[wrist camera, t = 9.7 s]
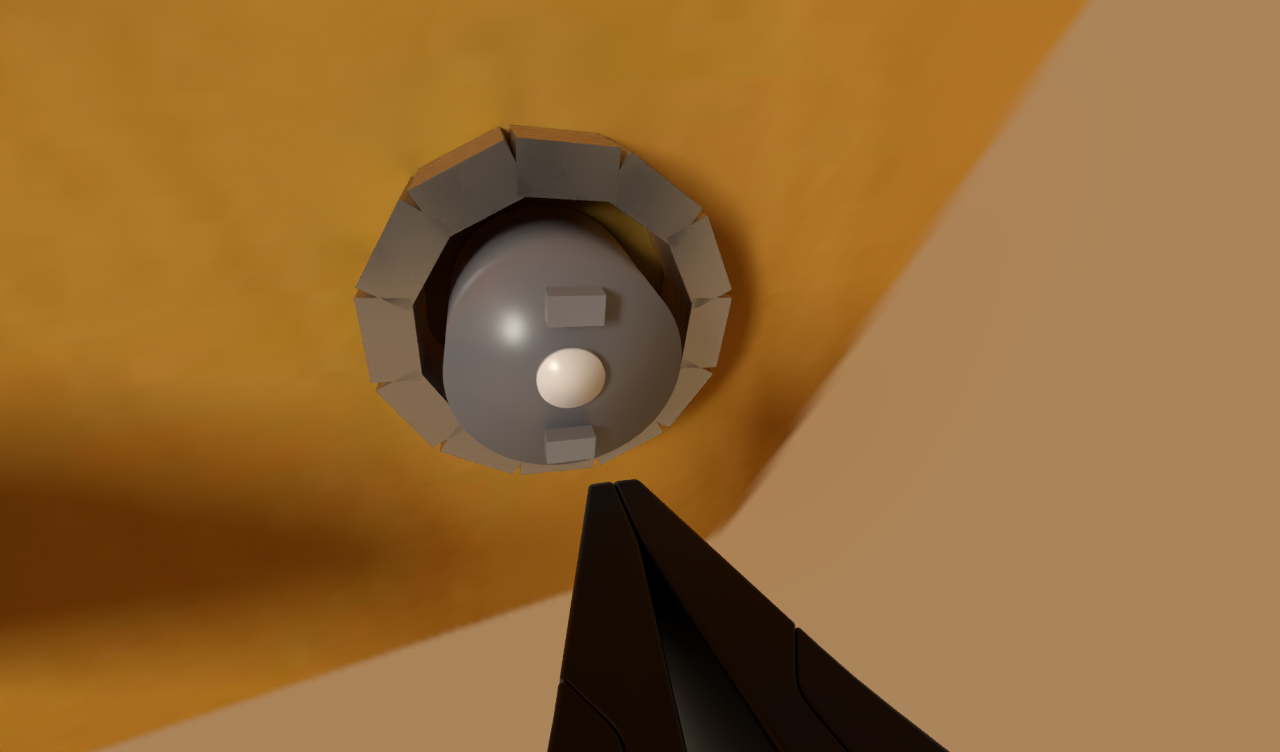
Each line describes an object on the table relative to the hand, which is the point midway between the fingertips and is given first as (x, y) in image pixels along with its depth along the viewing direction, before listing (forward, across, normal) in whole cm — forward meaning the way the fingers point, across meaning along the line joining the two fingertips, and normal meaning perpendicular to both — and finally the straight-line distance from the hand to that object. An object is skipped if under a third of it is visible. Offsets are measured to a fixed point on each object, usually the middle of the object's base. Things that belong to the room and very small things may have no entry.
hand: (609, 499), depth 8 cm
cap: (+8, 0, 0) cm, 9 cm away
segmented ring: (+8, 0, 0) cm, 8 cm away
